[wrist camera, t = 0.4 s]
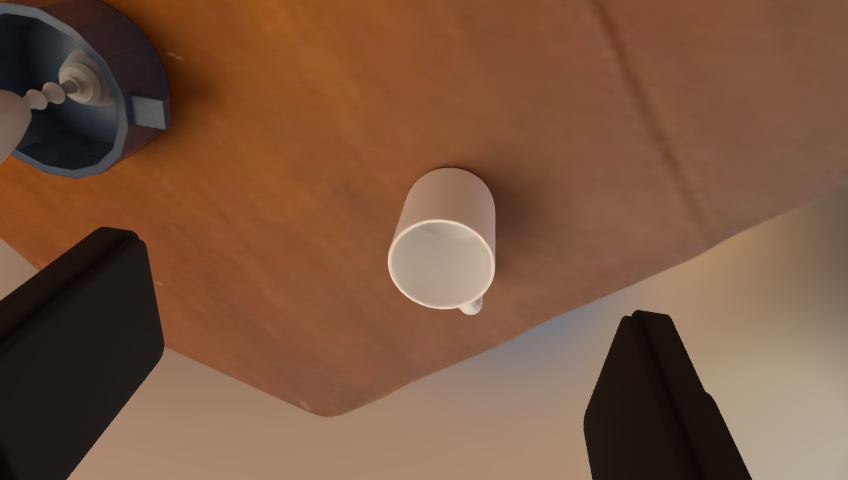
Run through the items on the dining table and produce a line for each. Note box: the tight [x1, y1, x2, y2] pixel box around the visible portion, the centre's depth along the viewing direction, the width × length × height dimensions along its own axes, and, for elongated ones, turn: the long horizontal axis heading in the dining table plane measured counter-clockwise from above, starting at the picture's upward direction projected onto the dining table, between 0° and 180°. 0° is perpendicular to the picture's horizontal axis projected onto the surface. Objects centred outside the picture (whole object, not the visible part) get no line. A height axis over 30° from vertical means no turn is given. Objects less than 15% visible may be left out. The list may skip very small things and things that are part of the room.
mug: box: [388, 168, 495, 315], centre depth 46 cm, size 12×8×10 cm
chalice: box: [0, 49, 115, 163], centre depth 39 cm, size 7×7×18 cm
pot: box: [0, 0, 172, 179], centre depth 44 cm, size 14×19×6 cm
